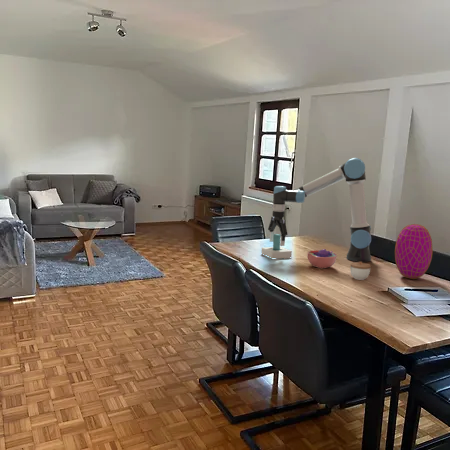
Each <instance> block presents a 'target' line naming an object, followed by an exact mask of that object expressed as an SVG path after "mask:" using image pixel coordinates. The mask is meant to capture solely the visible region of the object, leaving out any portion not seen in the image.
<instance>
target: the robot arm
mask: <svg viewBox="0 0 450 450" xmlns="http://www.w3.org/2000/svg"><path fill="white" fill-rule="evenodd" d="M343 180H345V182H346V183H347V185H348V192H349V204H350V213H351V224H350V226H349V229H350V245H349V248H348V252H347V253H346V257H345V258H346V259H347V260H349V261H352V262H360V261H361V262H362V263H367V262H371V260H372V256H371V251H370V245H371V242H372V235H371V230H372V226H371V224H369V223H368V221H367V210H366V209H367V208H366V198H365V196H366V195H365V187H364V183H365V181H366V165H365V162H364V161H363V160H362V159H360V158H358V157H352V158H350V159H348V160H347V161H346V162H345V163H342V164H341V165H339V166H338V168H336V169H334V170H332V171H330V172H328V173H326V174H324V175H323V176H320V177H318V178H316V179H314V180H312V181H309V182H307V183H306V184H304V185H302V186H300V187H297V188H295V189H294V190H293V189H287V186H284V185H276V186H274V187H273V195H272V196H273V201H272V214H271V215H272V216H271V218H270V222H269V225H268V228H267V230H268V231H269V242H273V236H274V234H275V229H276V228H277V227H278V229H279V231H280V247H285V243H286V242H285V241H286V236H288V230H287V224H286V219H284V217H285V211H286V203H296V204H303V203H305V200H306V199H305V198H307V197H309V196H311V195H313V194H315V193H317V192H320V191H322V190H324V189H326V188H328V187H330V186H332V185H335V184H337V183H339V182H341V181H343Z"/></svg>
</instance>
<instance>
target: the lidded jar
mask: <svg viewBox="0 0 450 450" xmlns="http://www.w3.org/2000/svg"><path fill="white" fill-rule="evenodd" d="M349 265H350V266H349V267H350V268H349V271H350V275H351V276H352V277H353V279H355V280H358V281H359V280H360V281H363V280H366V279H367V278H368V277H369V276H370V273H371V267H372V266H371V264H369V263H367V262H361V261H360V262H358V261H352V262H350V264H349Z"/></svg>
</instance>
